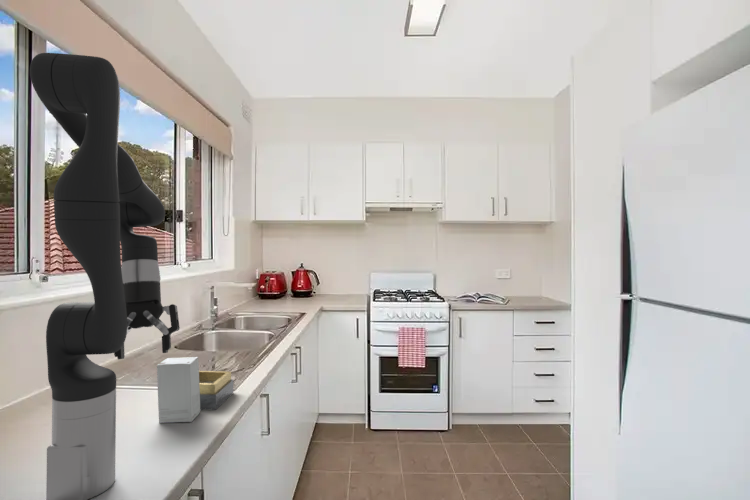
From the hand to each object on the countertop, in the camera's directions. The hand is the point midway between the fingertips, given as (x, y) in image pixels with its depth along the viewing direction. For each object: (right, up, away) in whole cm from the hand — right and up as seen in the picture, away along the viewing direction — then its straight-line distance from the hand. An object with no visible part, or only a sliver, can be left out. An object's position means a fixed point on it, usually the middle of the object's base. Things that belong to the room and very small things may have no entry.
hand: (143, 355), depth 85 cm
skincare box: (+1, -20, +14) cm, 24 cm away
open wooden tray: (+1, -19, +27) cm, 33 cm away
